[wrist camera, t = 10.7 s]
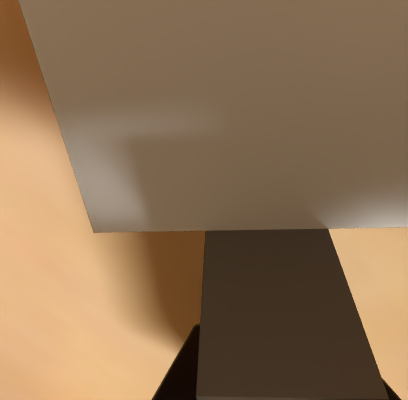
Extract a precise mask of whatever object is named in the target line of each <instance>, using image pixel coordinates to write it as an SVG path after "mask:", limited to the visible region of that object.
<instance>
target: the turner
mask: <svg viewBox="0 0 408 400" xmlns="http://www.w3.org/2000/svg"><path fill="white" fill-rule="evenodd" d="M18 1H19V4H20V7H21V10H22V14H23V17H24V20H25V23H26V26H27V29H28V32H29V35H30V38H31V41H32V44H33V47H34V50H35V54H36V57H37V60H38V63H39V66H40V69H41V72H42V75H43V78H44V81H45V84H46V87H47V90H48V94H49V97H50V100H51V103H52V106H53V109H54V112H55V115H56V118H57V121H58V124H59V127H60V130H61V134H62V137H63V140H64V143H65V146H66V149H67V152H68V155H69V158H70V161H71V164H72V167H73V170H74V174H75V177H76V180H77V183H78V186H79V189H80V192H81V195H82V198H83V201H84V204H85V207H86V210H87V214H88V217H89V220H90V223H91V226H92V229H93V232H94V233H100V232H159V231H206V233H205V251H204V268H203V286H202V303H201V321H200V338H199V355H198V373H197V390H196V399H197V400H389V397H388V394H387V392H386V389H385V386H384V383H383V381H382V378H381V375H380V372H379V369H378V367H377V364H376V361H375V358H374V356H373V353H372V350H371V347H370V344H369V342H368V339H367V336H366V333H365V330H364V328H363V325H362V322H361V319H360V317H359V314H358V311H357V308H356V305H355V303H354V300H353V297H352V294H351V292H350V289H349V286H348V283H347V280H346V278H345V275H344V272H343V269H342V266H341V264H340V261H339V258H338V255H337V253H336V250H335V247H334V244H333V241H332V239H331V236H330V233H329V230H328V229H334V228H392V227H408V0H18Z"/></svg>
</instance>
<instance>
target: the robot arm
mask: <svg viewBox="0 0 408 400" xmlns="http://www.w3.org/2000/svg"><path fill="white" fill-rule="evenodd" d="M199 338H200V324H196V325H195V326H194V327H193V328H192V330H191V332H190V334H189V335H188V337H187V339H186V341H185V342H184V344H183V346H182V348H181V349H180V351H179V353H178V355H177V356H176V358H175V360H174V361H173V363H172V365H171V367H170V368H169V370H168V372H167V374H166V375H165V377H164V379H163V381H162V382H161V384H160V386H159V388H158V389H157V391H156V393H155V395H154V396H153V398H152V400H197V399H196V390H197V373H198V355H199ZM382 381H383V383H384V386H385V389H386V392H387V394H388V397H389V400H401V399H400V398H399V396H398V395H397V394H396V393H395V392H394V391H393V390H392V389H391V388H390V386H389V385H388V384H387V383H386V382H385V381H384V380H383V379H382Z"/></svg>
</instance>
